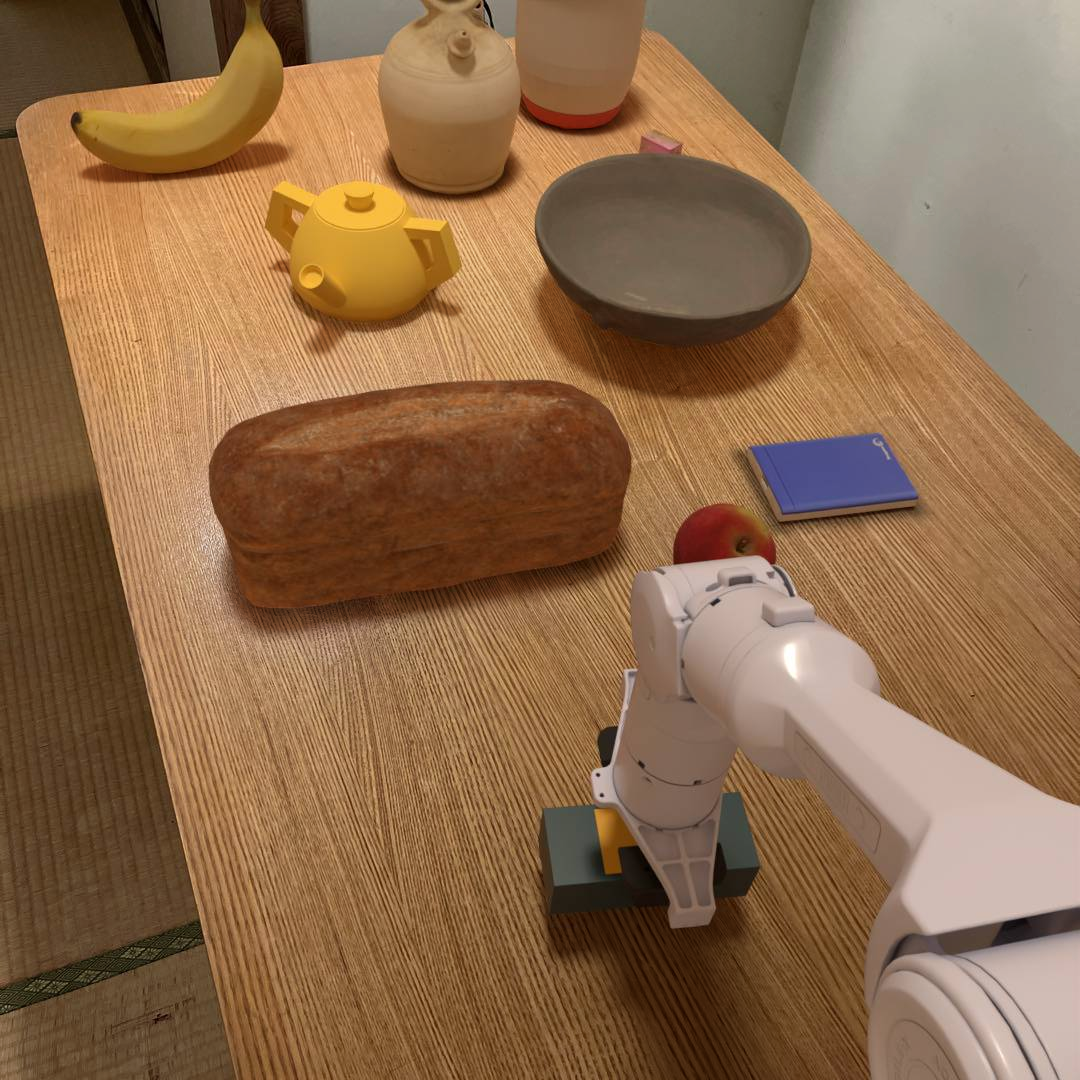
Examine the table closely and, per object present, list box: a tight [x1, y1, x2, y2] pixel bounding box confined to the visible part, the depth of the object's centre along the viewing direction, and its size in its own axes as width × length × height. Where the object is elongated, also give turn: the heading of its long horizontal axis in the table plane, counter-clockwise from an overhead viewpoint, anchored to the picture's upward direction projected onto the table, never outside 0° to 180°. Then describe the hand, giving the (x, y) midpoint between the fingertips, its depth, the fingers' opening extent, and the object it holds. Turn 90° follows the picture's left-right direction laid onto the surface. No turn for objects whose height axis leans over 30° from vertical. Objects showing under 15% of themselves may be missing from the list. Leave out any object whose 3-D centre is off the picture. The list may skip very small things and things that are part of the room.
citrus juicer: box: [514, 0, 647, 130], centre depth 129 cm, size 16×17×20 cm
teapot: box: [264, 180, 463, 324], centre depth 102 cm, size 20×18×11 cm
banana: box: [69, 0, 285, 174], centre depth 113 cm, size 23×6×20 cm, turn 109°
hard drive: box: [746, 432, 919, 523], centre depth 93 cm, size 2×8×12 cm
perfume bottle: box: [638, 129, 684, 155], centre depth 123 cm, size 12×12×4 cm
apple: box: [672, 502, 777, 565], centre depth 81 cm, size 8×8×8 cm
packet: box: [537, 791, 762, 916], centre depth 64 cm, size 12×5×4 cm, turn 97°
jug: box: [377, 0, 522, 196], centre depth 115 cm, size 15×16×25 cm
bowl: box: [534, 152, 813, 348], centre depth 105 cm, size 26×26×10 cm
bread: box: [208, 379, 633, 609], centre depth 81 cm, size 12×31×14 cm, turn 106°
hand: (642, 856), depth 64 cm, fingers closed on packet, 5 cm apart
